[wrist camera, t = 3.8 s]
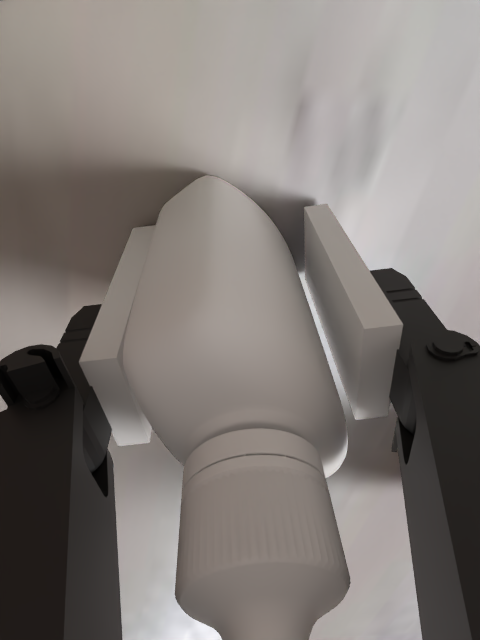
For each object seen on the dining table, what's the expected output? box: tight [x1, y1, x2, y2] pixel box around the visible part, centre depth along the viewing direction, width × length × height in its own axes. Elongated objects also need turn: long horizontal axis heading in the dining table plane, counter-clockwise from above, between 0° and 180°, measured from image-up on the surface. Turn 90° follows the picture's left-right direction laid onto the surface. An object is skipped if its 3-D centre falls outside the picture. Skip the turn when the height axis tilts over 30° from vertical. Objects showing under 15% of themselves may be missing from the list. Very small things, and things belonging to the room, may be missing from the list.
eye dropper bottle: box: [123, 175, 350, 640], centre depth 9 cm, size 4×6×12 cm
